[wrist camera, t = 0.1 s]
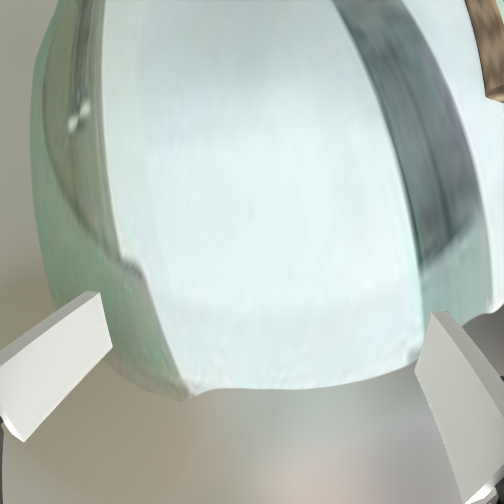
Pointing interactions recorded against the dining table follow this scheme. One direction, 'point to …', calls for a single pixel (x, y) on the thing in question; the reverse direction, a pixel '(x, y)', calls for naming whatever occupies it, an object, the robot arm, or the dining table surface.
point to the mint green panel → (501, 8)
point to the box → (489, 44)
